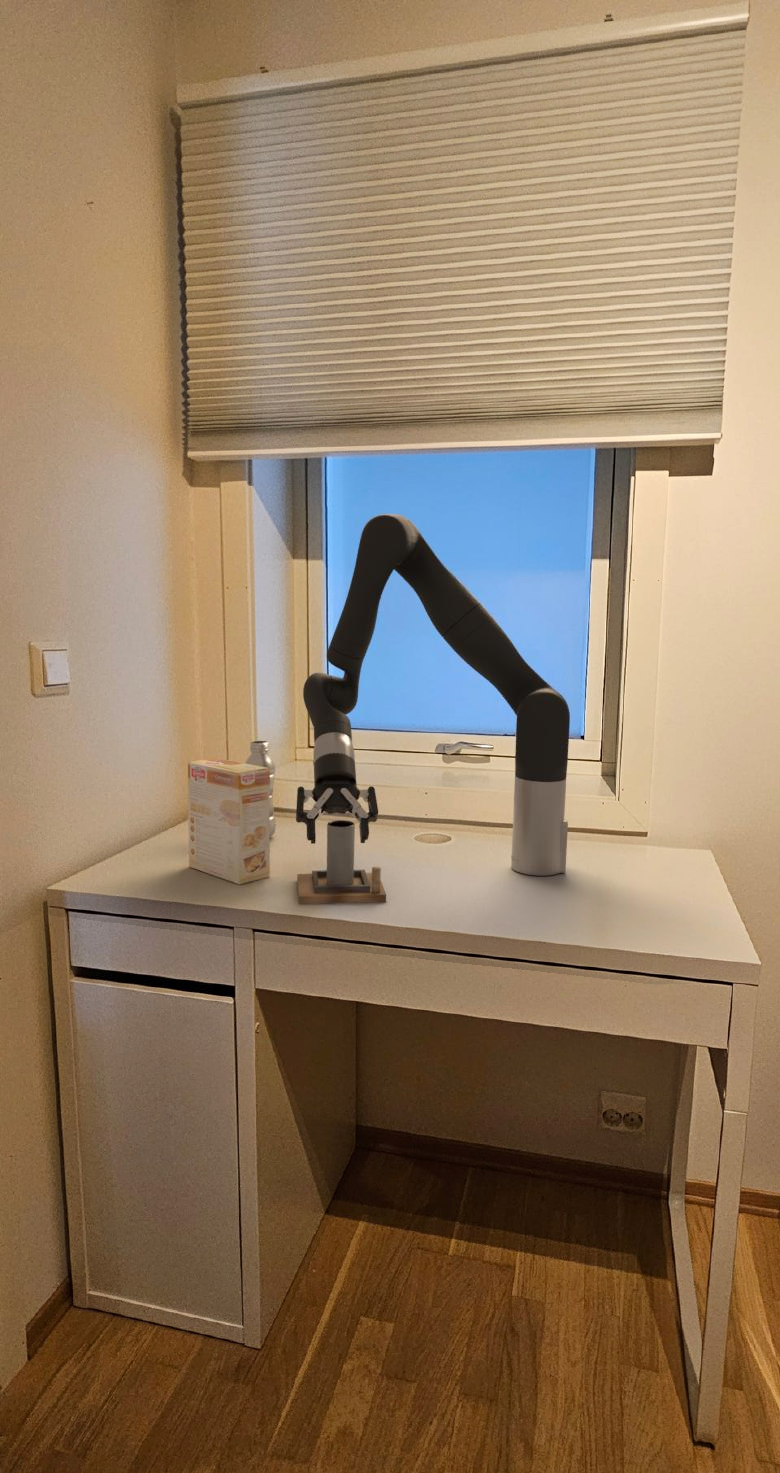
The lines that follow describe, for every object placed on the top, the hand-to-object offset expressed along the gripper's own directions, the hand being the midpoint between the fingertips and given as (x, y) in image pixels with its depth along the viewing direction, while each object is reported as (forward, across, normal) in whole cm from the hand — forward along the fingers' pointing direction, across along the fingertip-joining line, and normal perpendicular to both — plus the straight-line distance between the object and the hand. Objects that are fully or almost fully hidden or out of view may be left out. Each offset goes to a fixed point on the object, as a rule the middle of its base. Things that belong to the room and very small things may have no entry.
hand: (338, 841), depth 145 cm
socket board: (+8, 0, +2) cm, 9 cm away
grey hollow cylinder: (+7, 0, +2) cm, 8 cm away
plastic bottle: (-16, -14, +28) cm, 35 cm away
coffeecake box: (0, -19, +11) cm, 22 cm away
